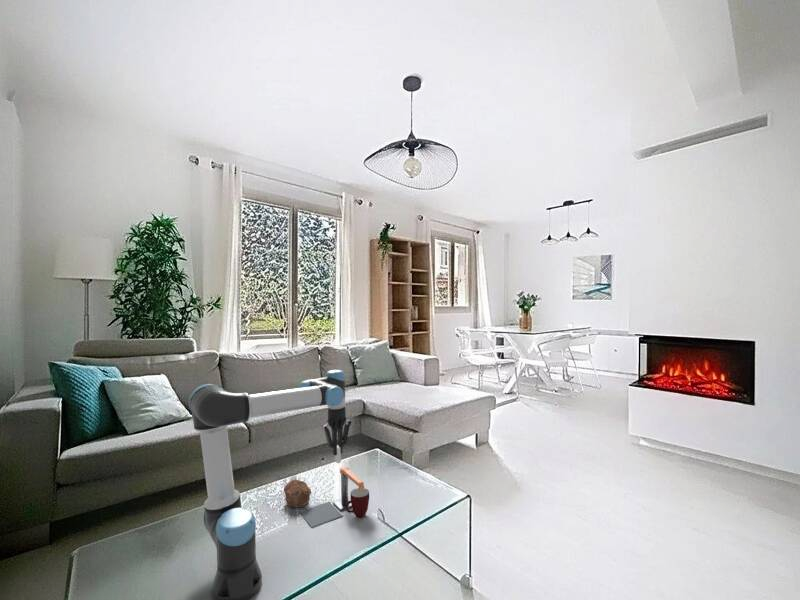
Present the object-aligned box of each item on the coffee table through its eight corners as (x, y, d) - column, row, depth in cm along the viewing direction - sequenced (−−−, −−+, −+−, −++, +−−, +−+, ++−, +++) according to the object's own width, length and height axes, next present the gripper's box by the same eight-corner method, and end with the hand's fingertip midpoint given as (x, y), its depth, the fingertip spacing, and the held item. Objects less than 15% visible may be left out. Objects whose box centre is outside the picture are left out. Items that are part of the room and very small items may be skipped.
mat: (311, 528, 158) (311, 527, 158) (299, 512, 170) (299, 511, 170) (342, 516, 166) (342, 515, 166) (329, 502, 178) (329, 501, 178)
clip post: (340, 511, 170) (340, 478, 170) (333, 503, 176) (332, 472, 176) (356, 505, 174) (356, 473, 174) (348, 498, 181) (348, 467, 181)
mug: (351, 525, 160) (350, 501, 159) (342, 516, 166) (342, 493, 166) (373, 516, 166) (372, 493, 165) (363, 508, 172) (363, 486, 172)
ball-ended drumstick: (357, 492, 160) (357, 484, 160) (338, 475, 176) (338, 468, 176) (366, 489, 163) (365, 481, 163) (346, 473, 178) (346, 465, 178)
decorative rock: (280, 502, 179) (279, 480, 178) (302, 493, 186) (301, 472, 186) (292, 513, 169) (292, 491, 169) (315, 504, 176) (315, 482, 176)
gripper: (325, 411, 158) (327, 469, 158) (354, 406, 165) (355, 460, 165) (318, 407, 164) (320, 462, 164) (346, 402, 171) (347, 454, 171)
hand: (337, 461), depth 165 cm, fingers closed
